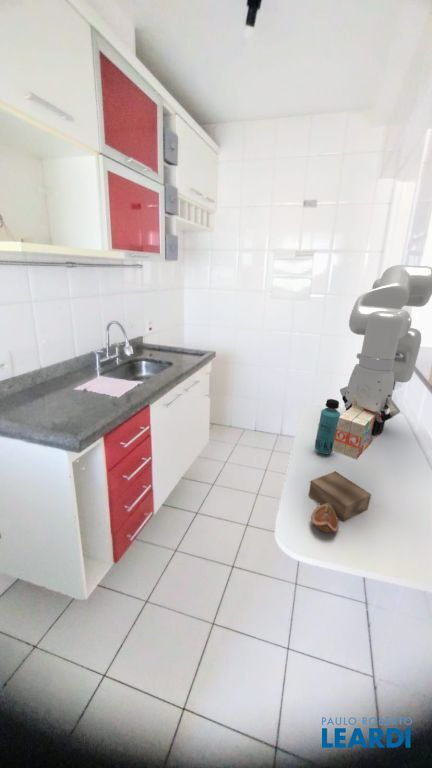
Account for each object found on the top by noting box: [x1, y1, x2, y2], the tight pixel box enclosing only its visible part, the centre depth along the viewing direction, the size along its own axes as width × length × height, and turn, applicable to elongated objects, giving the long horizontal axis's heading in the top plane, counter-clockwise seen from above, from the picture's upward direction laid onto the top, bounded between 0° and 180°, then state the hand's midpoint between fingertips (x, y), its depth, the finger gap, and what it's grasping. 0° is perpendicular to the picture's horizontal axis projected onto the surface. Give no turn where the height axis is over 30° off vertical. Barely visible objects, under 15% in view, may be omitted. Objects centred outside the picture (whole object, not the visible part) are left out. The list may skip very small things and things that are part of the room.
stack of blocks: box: [332, 396, 388, 460], centre depth 88 cm, size 21×6×12 cm, turn 140°
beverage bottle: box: [314, 398, 341, 455], centre depth 116 cm, size 6×7×20 cm
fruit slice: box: [310, 502, 340, 534], centre depth 85 cm, size 8×7×5 cm
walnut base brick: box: [308, 470, 372, 523], centre depth 94 cm, size 10×12×5 cm
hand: (362, 427), depth 89 cm, fingers closed on stack of blocks, 7 cm apart
